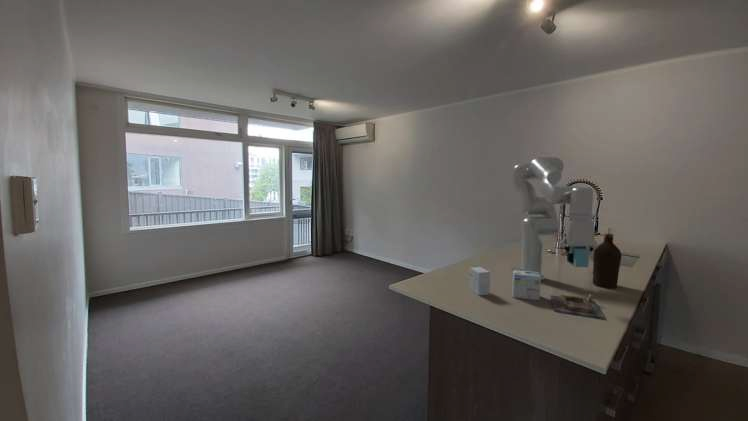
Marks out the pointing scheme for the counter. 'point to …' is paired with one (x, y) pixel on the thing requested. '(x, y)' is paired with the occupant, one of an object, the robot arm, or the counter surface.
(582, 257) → the teal block
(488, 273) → the small box
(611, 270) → the olive oil
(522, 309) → the counter surface
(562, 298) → the board
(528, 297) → the light bulb box
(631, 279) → the counter surface
